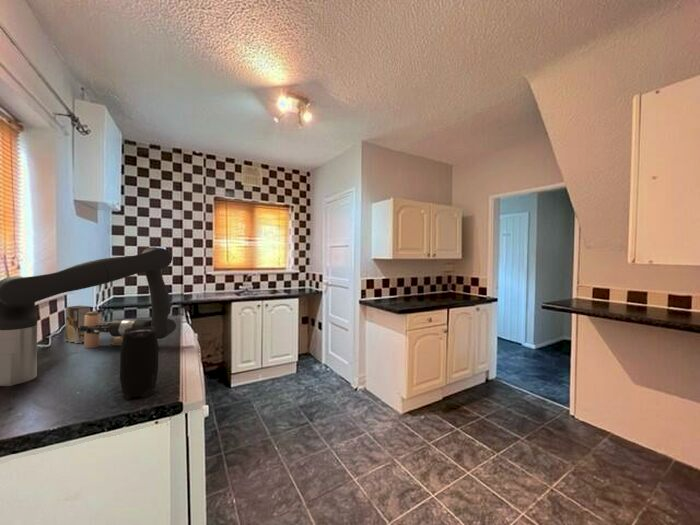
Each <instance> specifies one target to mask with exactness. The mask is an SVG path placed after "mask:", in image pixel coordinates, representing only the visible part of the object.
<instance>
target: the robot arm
mask: <svg viewBox="0 0 700 525" xmlns="http://www.w3.org/2000/svg"><path fill="white" fill-rule="evenodd" d="M172 261H173V255H172V253H171V252H170V251H169V250H167V249H165V248H163V247H156V246H153V247H151V246H150V247H147V248H145V249H144V250H143V251H142V252H141V253H139V254H135V255H130V256H129V255H128V256H115V257H105V258H100V259H95V260H89V261H86V262H82V263H79V264H75V265H72V266H69V267H66V268H65V269H62V270H59V271H55V272H51V273H50V272H49V273H47V274H45V273H44V274H39V275H33V276H21V275H20V276H17V275H14V276H8V277H6V278H3V279H1V280H0V387H11V386H15V385H19V384H24V383H26V382H27V383H28V382H30V381H32V380H35V379H36V378H37V375H38V374H37V373H38V372H37V370H38V368H37V367H38V366H37V365H38V315H37V312H36V302H40V301H42V300H45V299H48V298H49V299H50V298H51V297H54V296H57V295H61V294H64V293H68V292H73V291H80V290H84V289H87V288H92V287H93V288H94V287H96V286H97V287H98V286H100V285H104V284H107V283H108V284H109V283H112V282H115V281H119V280H122V279H125V278H128V277H132V276H134V275H137V274H141V273H144V274H145V276H146V281H147V284H148V289H149V290H148V291H149V295H150V303H151V311H152V315H151V319H148V320H147V319H132V318H126V319H125V318H116V319H114V320H112V321H105V322H100V324H99V325H95V326H81V327H80V331H81V332H86V333H89V334H100V335H101V333H103V334H108V333H109V334H110V336H111V337H116V338H117V337H123V336H124V330H126V329H128V328H145V327H148V326H152V327H155V328H156V335H157V340H162V339H165V338H166V337H168V336H169V335H171V334H172V333H173V332H174V331H175V330H176V328H177V323H176V322H175V320H173V319H171V318H168V317H169V315H170V314H171V312H172V306H171V298H170V294H169V291H168V289H167V286H166V283H165V280H164V277H163V271H162V270H164V269H166V268H168V267H169V266H170V265H171V263H172ZM98 326H99V327H98Z"/></svg>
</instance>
